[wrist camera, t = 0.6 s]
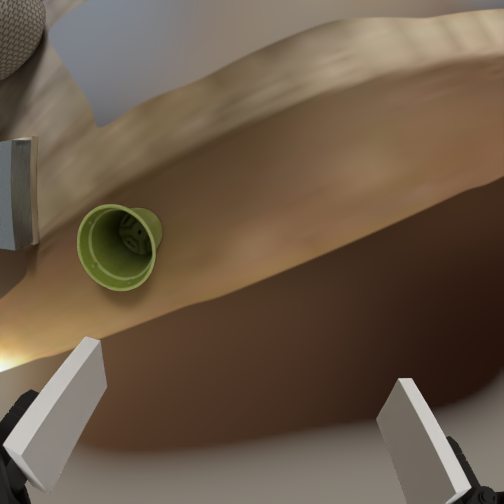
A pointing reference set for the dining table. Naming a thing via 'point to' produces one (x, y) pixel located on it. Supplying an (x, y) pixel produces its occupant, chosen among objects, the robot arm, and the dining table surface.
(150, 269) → the plant pot
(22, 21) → the planter
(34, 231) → the cradle
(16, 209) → the block
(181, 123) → the dining table surface
